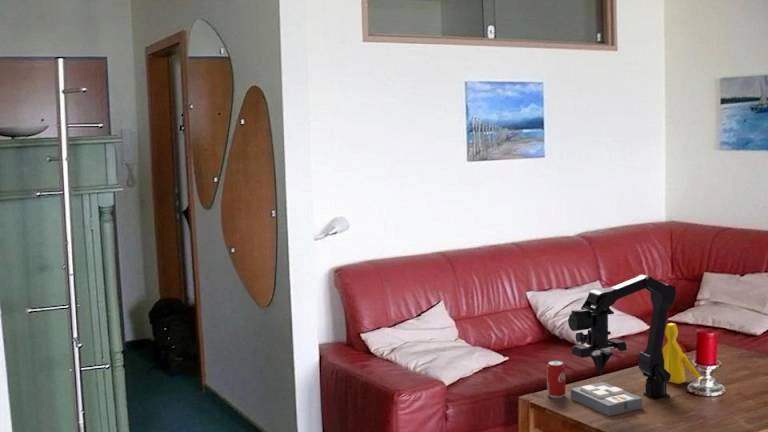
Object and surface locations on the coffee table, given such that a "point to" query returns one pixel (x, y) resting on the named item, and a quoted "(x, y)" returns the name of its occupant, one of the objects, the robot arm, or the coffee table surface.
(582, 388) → the button
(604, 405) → the panel
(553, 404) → the coffee table surface
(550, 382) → the beverage can
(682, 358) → the figure statuette
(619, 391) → the button
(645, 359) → the robot arm
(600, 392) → the button
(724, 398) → the coffee table surface
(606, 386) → the button
